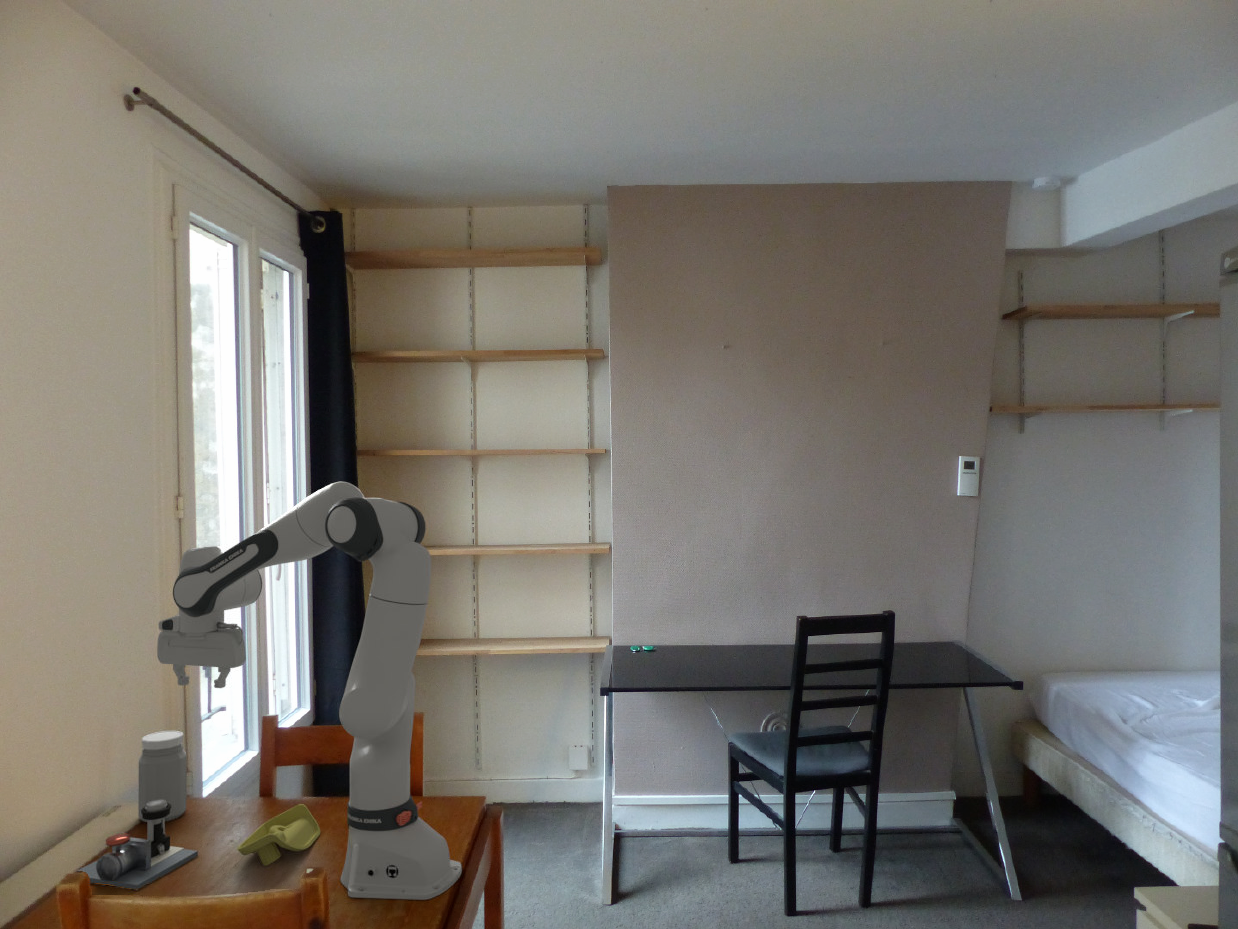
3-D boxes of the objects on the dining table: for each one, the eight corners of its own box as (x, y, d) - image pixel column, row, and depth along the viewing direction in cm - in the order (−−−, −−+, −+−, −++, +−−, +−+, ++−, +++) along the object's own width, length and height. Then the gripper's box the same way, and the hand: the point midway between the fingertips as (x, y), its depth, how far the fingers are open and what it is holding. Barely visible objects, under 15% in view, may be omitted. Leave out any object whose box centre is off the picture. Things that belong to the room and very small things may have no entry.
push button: (151, 863, 167) (151, 811, 167) (128, 860, 168) (129, 809, 168) (177, 849, 173) (177, 799, 173) (155, 846, 174) (155, 797, 175)
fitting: (150, 870, 165) (151, 832, 165) (124, 884, 159) (124, 845, 159) (117, 865, 167) (117, 828, 167) (89, 879, 161) (89, 841, 161)
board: (198, 855, 173) (198, 850, 173) (137, 890, 158) (137, 884, 158) (134, 846, 177) (134, 841, 177) (68, 880, 162) (68, 874, 162)
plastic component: (264, 822, 184) (308, 799, 185) (279, 853, 183) (322, 831, 184) (228, 855, 164) (277, 830, 165) (245, 891, 164) (293, 865, 165)
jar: (180, 822, 190) (181, 740, 190) (131, 827, 187) (132, 743, 187) (191, 806, 199) (191, 728, 199) (144, 810, 197) (145, 731, 197)
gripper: (252, 621, 185) (252, 685, 185) (174, 617, 191) (174, 680, 190) (231, 626, 179) (231, 692, 179) (151, 622, 185) (151, 686, 184)
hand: (201, 686), depth 185 cm, fingers open, 8 cm apart
